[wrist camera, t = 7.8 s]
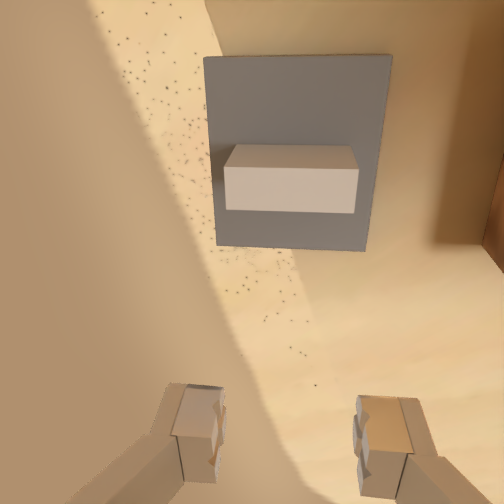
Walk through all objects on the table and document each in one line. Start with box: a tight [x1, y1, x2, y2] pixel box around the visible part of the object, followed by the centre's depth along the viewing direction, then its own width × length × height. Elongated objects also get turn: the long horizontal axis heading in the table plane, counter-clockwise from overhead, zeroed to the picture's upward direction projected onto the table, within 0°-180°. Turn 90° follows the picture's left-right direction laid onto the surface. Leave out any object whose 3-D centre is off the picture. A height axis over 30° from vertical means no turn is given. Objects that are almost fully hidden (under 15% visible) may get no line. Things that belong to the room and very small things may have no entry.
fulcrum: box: [203, 54, 393, 252], centre depth 27 cm, size 12×14×6 cm
